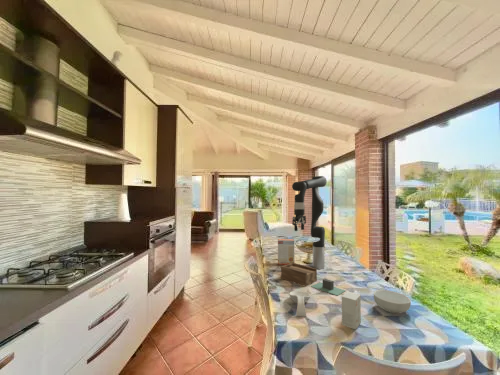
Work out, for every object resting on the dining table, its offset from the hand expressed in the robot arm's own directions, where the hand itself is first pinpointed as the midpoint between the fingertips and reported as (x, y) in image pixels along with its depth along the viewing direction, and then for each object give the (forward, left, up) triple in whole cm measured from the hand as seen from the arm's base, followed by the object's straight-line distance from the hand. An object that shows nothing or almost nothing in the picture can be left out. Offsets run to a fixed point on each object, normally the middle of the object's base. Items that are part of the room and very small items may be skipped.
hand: (299, 230), depth 176 cm
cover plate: (+8, +27, -34) cm, 44 cm away
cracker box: (-16, -24, -33) cm, 44 cm away
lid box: (+8, +5, -33) cm, 34 cm away
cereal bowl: (+9, +63, -33) cm, 72 cm away
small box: (+38, +54, -33) cm, 74 cm away
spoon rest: (+40, +28, -34) cm, 59 cm away
